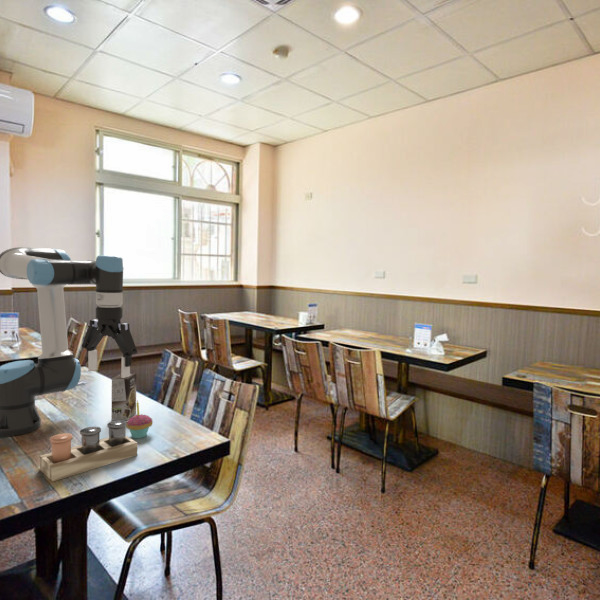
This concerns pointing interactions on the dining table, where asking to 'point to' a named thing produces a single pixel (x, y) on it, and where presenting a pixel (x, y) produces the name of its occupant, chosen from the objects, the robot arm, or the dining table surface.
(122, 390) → the coffee box
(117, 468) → the dining table surface
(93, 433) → the plug
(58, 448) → the plug terracotta
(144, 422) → the cupcake
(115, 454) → the wooden holder
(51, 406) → the dining table surface
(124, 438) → the plug
